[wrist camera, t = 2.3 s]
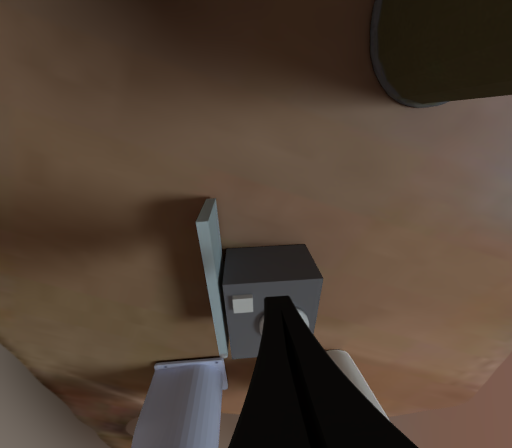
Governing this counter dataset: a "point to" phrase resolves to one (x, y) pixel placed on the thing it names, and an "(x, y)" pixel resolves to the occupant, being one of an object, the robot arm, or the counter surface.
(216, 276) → the side door
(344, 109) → the counter surface
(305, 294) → the camera body
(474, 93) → the canister
